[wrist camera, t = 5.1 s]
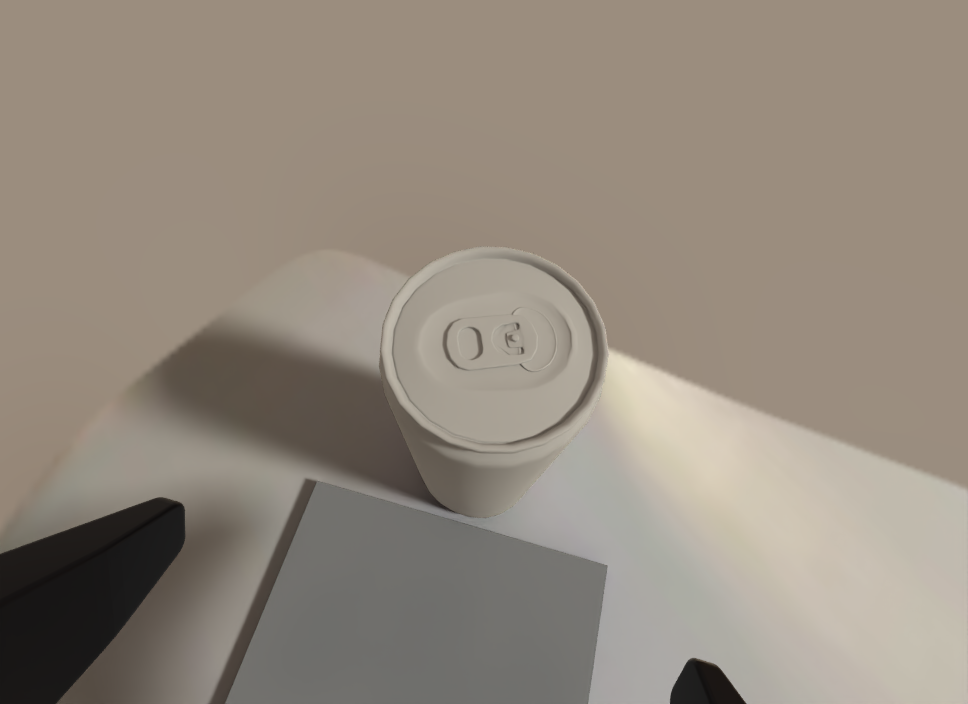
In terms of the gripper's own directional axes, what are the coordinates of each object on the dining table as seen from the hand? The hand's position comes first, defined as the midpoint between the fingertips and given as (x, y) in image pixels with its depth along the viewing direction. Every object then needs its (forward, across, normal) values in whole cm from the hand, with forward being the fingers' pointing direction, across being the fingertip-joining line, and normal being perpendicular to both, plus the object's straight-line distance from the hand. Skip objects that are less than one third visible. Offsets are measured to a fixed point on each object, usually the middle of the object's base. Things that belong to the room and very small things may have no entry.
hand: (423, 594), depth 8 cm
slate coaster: (+5, 0, +11) cm, 12 cm away
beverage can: (+11, 0, +5) cm, 12 cm away
